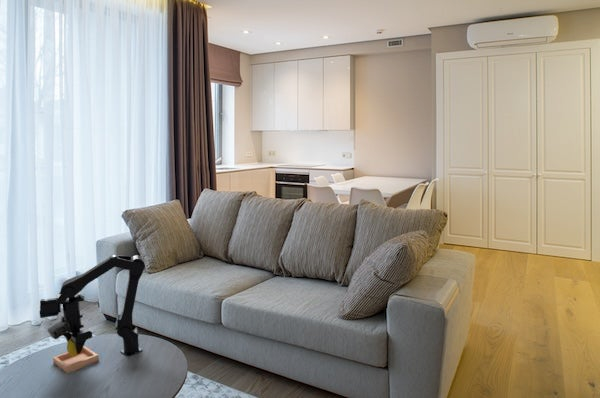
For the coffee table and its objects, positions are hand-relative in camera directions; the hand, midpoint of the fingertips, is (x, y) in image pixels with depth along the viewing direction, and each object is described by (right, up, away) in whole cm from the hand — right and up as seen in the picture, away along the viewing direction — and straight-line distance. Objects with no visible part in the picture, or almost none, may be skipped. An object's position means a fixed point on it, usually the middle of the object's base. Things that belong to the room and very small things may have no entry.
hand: (75, 351), depth 170 cm
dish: (0, -4, +1) cm, 4 cm away
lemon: (0, -2, 0) cm, 2 cm away
